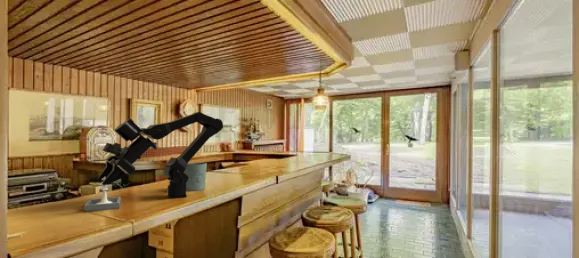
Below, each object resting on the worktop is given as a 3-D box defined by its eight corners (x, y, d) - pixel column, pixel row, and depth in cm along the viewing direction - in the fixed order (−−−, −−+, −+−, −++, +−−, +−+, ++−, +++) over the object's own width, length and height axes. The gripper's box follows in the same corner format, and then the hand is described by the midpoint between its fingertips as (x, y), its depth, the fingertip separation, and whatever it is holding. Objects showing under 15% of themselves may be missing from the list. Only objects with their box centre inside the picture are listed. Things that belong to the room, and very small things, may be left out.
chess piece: (101, 203, 102) (101, 175, 102) (115, 203, 102) (115, 175, 102) (92, 207, 97) (93, 177, 97) (107, 207, 97) (107, 177, 97)
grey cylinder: (202, 191, 126) (202, 164, 126) (179, 191, 127) (180, 164, 127) (209, 187, 136) (209, 162, 137) (188, 186, 137) (188, 162, 137)
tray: (120, 202, 106) (120, 196, 106) (119, 208, 97) (119, 202, 97) (88, 204, 101) (89, 199, 101) (84, 212, 93) (84, 205, 93)
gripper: (113, 134, 109) (77, 165, 102) (125, 135, 96) (84, 170, 88) (135, 154, 114) (102, 184, 107) (149, 157, 101) (113, 192, 93)
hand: (100, 182), depth 99 cm, fingers open, 9 cm apart
